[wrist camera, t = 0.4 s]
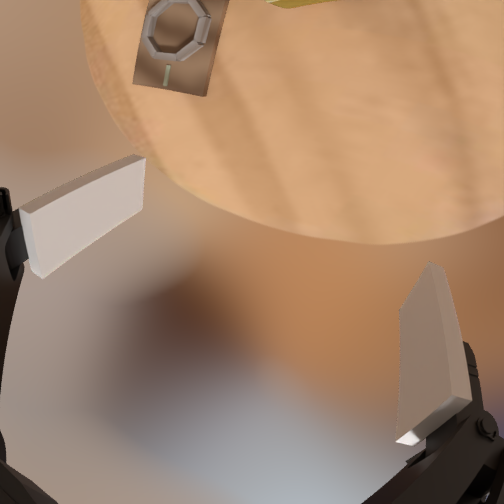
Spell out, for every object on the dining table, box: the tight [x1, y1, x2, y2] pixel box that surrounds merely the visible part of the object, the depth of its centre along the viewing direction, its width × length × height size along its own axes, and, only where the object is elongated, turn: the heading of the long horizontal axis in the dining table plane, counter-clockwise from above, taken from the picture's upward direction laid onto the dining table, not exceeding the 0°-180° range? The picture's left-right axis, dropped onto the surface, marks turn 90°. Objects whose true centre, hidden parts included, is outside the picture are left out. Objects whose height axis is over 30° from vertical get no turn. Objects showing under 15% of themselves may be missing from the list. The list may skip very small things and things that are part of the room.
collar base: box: [132, 0, 229, 97], centre depth 33 cm, size 18×12×2 cm, turn 166°
